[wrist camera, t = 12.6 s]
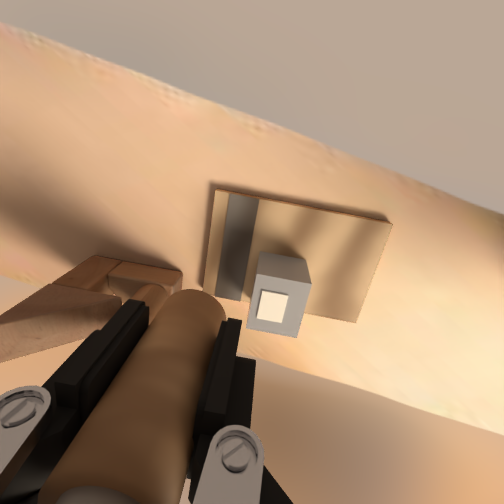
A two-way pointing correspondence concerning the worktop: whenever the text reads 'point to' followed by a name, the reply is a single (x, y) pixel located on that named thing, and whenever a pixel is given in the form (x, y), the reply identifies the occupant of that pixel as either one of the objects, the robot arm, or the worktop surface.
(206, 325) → the grey-capped wooden cylinder
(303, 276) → the block
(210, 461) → the robot arm
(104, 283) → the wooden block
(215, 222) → the panel
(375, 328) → the worktop surface
